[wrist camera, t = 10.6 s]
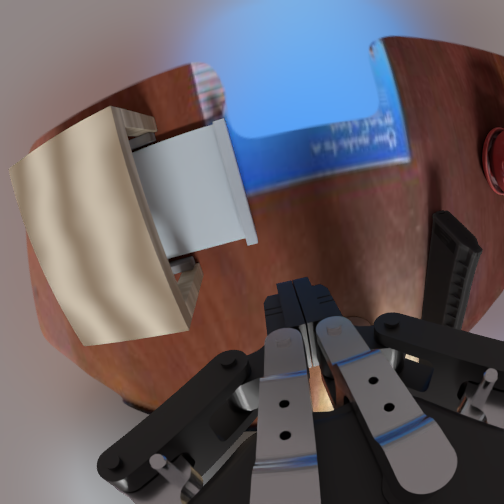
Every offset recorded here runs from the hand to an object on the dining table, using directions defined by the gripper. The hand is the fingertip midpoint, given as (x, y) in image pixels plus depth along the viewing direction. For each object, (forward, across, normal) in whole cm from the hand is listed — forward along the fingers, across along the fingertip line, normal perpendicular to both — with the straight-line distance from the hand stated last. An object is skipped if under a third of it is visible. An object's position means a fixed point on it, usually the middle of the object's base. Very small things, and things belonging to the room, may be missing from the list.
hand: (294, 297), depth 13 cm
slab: (+22, +12, -4) cm, 25 cm away
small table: (+21, +17, -3) cm, 27 cm away
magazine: (+22, -25, +21) cm, 39 cm away
